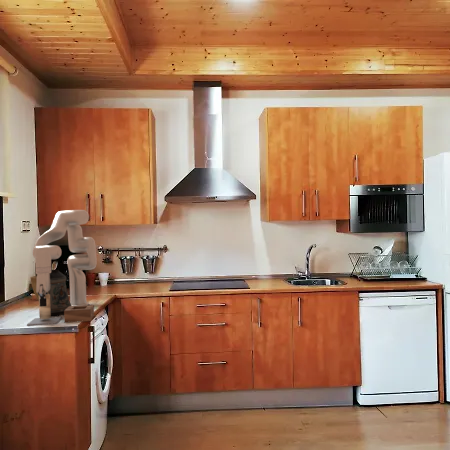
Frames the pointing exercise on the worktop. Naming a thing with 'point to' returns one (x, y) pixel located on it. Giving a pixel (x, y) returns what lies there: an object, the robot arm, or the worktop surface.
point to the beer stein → (58, 294)
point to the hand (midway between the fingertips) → (44, 304)
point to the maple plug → (45, 309)
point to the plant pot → (34, 285)
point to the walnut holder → (79, 313)
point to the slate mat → (44, 321)
